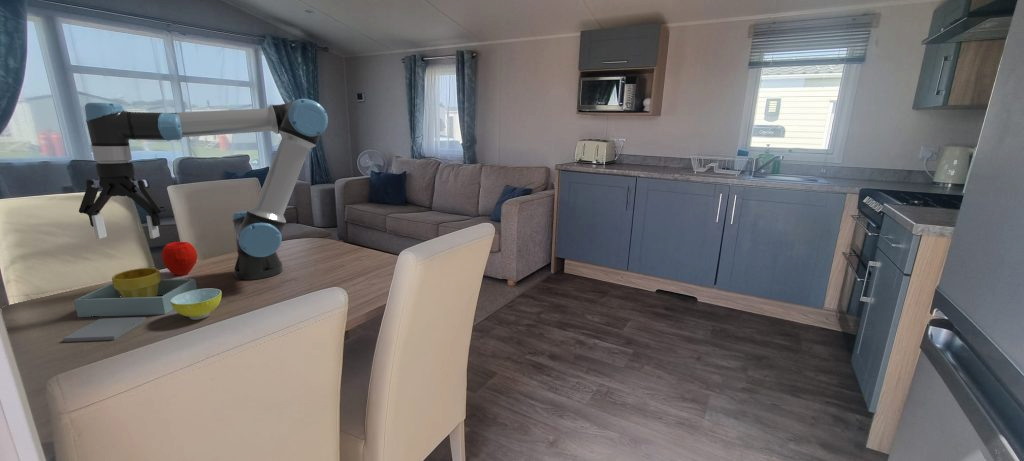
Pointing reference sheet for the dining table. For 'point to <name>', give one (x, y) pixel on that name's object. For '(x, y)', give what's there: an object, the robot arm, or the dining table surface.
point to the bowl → (197, 302)
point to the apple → (179, 257)
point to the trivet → (105, 329)
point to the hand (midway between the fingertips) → (128, 237)
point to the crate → (132, 300)
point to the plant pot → (137, 282)
